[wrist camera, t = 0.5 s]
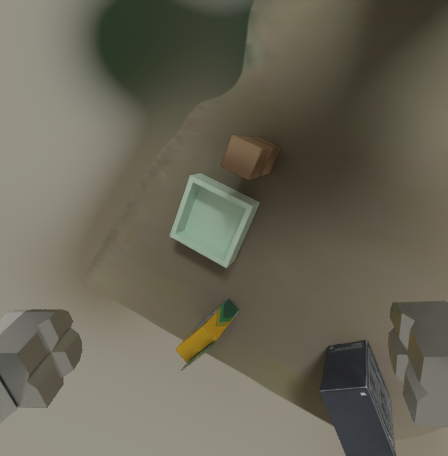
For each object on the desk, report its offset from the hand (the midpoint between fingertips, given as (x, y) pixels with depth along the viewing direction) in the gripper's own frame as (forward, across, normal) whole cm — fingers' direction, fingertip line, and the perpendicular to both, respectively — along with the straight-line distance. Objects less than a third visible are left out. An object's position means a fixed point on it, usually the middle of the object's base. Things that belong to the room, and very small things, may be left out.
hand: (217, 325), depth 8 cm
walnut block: (+42, +1, +5) cm, 42 cm away
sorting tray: (+42, +9, +14) cm, 45 cm away
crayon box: (+38, +11, +32) cm, 51 cm away
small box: (+32, -11, +38) cm, 51 cm away
